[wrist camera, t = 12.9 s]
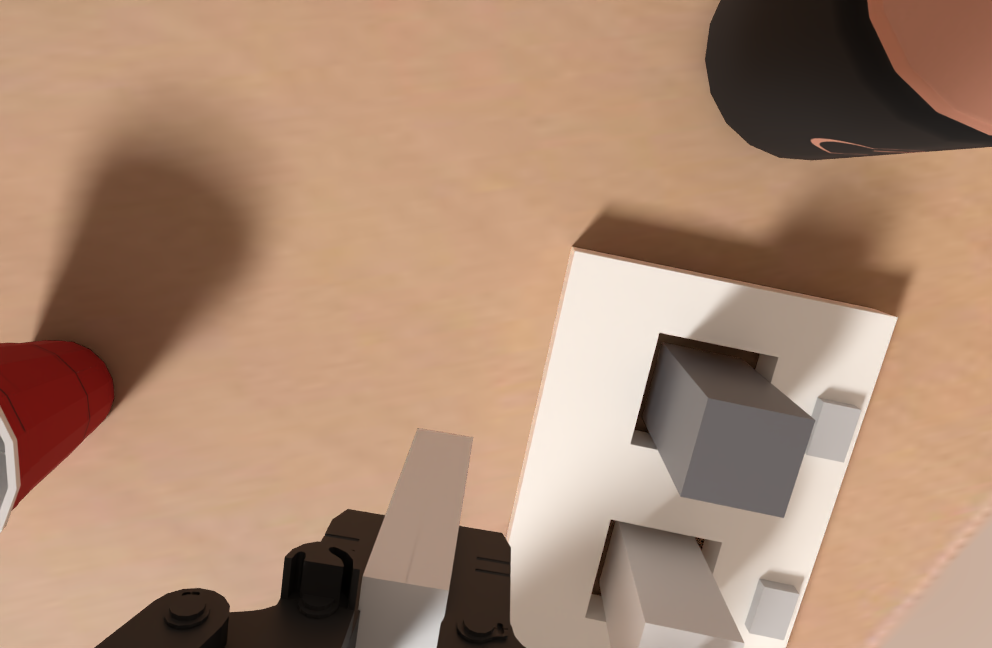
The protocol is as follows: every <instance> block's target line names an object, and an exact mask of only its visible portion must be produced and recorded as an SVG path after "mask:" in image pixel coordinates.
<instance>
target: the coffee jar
mask: <svg viewBox="0 0 992 648" xmlns="http://www.w3.org/2000/svg"><path fill="white" fill-rule="evenodd" d="M705 62H706V68H707V74H708V80H709V86H710V92H711V95H712V97H713V99H714V101H715V102H716V104H717V106H718V108H719V110H720V112H721V114H722V116H723V118H724V120H725V121H726V123H727V124H728V125H729V126H730V127H731V128H732V129H733V130H734V131H736V132H737V133H738V134H739V135H740V136H741V137H742V138H743V139H744V140H745V141H746V142H747V143H748V144H750V145H751V146H754V147H756V148H758V149H761V150H763V151H765V152H768V153H770V154H772V155H775V156H777V157H779V158H790V159H803V160H822V159H836V158H849V157H862V156H875V155H889V154H902V153H915V152H929V151H942V150H955V149H969V148H982V147H992V0H721V1H720V3H719V5H718V7H717V10H716V12H715V14H714V16H713V18H712V21H711V23H710V28H709V35H708V42H707V50H706V57H705Z"/></svg>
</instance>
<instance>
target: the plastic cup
mask: <svg viewBox="0 0 992 648" xmlns="http://www.w3.org/2000/svg"><path fill="white" fill-rule="evenodd" d="M113 400H114V388H113V379H112V377H111V375H110V373H109V371H108V369H107V367H106V365H105V363H104V362H103V361H102V360H101V359H100V358H99V357H98V356H97V355H95V354H94V353H93V352H92V351H91V350H90V349H88V348H86V347H83V346H81V345H79V344H77V343H74V342H67V341H52V340H43V341H34V342H26V343H0V533H1V531H2V530H3V529H4V528H5V527H6V525H7V522H8V519H9V516H10V514H11V511H12V510H13V509H14V508H15V507H16V506H17V505H18V503H19V502H20V501H21V500H22V499H23V498H24V497H25V496H26V495H27V494H28V493H29V491H31V490H32V489H33V488H34V487H35V486H36V485H37V484H38V483H39V482H40V481H41V480H43V479H44V478H45V477H46V476H47V475H48V474H49V473H50V472H51V471H52V470H53V469H55V468H56V467H57V466H58V465H59V464H60V463H61V462H62V461H63V460H64V459H65V458H67V457H68V456H69V455H70V454H71V453H72V452H73V451H74V450H75V449H76V447H77V446H78V445H79V444H80V443H81V442H82V441H83V440H84V439H85V438H86V437H87V436H88V435H89V434H91V433H92V432H93V431H94V430H95V429H96V428H97V427H98V426H99V425H100V424H101V423H102V422H103V421H104V419H105V418H106V416H107V415H108V414H109V412H110V409H111V406H112V403H113Z"/></svg>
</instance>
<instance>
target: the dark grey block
mask: <svg viewBox="0 0 992 648" xmlns="http://www.w3.org/2000/svg"><path fill="white" fill-rule="evenodd" d="M642 418H643V420H644V423H645V425H646V427H647V429H648V431H649V433H650V435H651V437H652V439H653V441H654V443H655V445H656V447H657V449H658V452H659V454H660V456H661V458H662V460H663V462H664V464H665V466H666V468H667V470H668V472H669V474H670V476H671V478H672V481H673V483H674V485H675V487H676V489H677V491H678V493H679V495H680V497H685V498H689V499H694V500H699V501H704V502H709V503H714V504H718V505H723V506H728V507H733V508H738V509H742V510H747V511H752V512H757V513H762V514H767V515H771V516H776V517H781V518H784V516H785V513H786V510H787V507H788V504H789V501H790V498H791V495H792V491H793V488H794V485H795V482H796V479H797V476H798V473H799V470H800V467H801V464H802V460H803V457H804V454H805V451H806V448H807V445H808V442H809V439H810V436H811V433H812V430H813V426H814V423H815V419H813V418H812V417H811V416H810V415H809V414H807V413H806V412H805V411H804V410H803V409H801V408H800V407H799V406H798V405H797V404H795V403H794V402H793V401H792V400H791V399H789V398H788V397H787V396H786V395H785V394H783V393H782V392H781V391H780V390H779V389H777V388H776V387H775V386H774V385H773V384H771V383H770V382H769V381H768V380H767V379H765V378H764V377H763V376H762V375H761V374H759V373H758V372H757V371H756V370H755V369H753V368H752V367H751V366H750V365H749V364H747V363H746V362H745V361H744V360H743V359H741V358H737V357H732V356H727V355H722V354H717V353H712V352H708V351H703V350H698V349H693V348H688V347H683V346H679V345H674V344H669V343H664V342H662V343H661V347H660V350H659V354H658V358H657V362H656V366H655V369H654V373H653V377H652V381H651V385H650V388H649V392H648V396H647V400H646V404H645V407H644V411H643V415H642Z"/></svg>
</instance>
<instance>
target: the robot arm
mask: <svg viewBox="0 0 992 648" xmlns="http://www.w3.org/2000/svg"><path fill="white" fill-rule="evenodd" d="M472 441H473V437H468V436H462V435H456V434H450V433H444V432H438V431H432V430H427V429H421V428H418V429H417V431H416V434H415V437H414V439H413V442H412V445H411V448H410V450H409V453H408V456H407V458H406V461H405V464H404V466H403V469H402V472H401V474H400V477H399V480H398V482H397V485H396V488H395V490H394V493H393V496H392V499H391V501H390V504H389V507H388V509H387V512H386V515H380V514H374V513H368V512H362V511H356V510H350V509H347V510H346V511H344V512H343V513H341V514H340V515H338V516H337V517H335V518H334V519H333V520H332V521H331V523H330V525H329V527H328V529H327V531H326V533H325V536H324V537H323V539H322V541H321V542H313V543H307V544H303V545H301V546H299V547H297V548H294V549H292V550H291V551H290V552H289V553H288V554H287V555H286V556H285V560H284V569H283V579H282V589H281V598H280V600H279V602H278V604H277V605H275V606H272V607H269V608H266V609H262V610H255V611H244V612H229V609H230V605H229V604H228V602H227V601H226V599H225V597H223V596H222V595H220V594H218V593H216V592H215V591H211V590H206V589H201V588H194V589H182V590H178V591H175V592H171V593H168V594H166V595H164V596H162V597H161V598H159V599H157V600H155V601H154V602H152V603H151V604H150V605H148V606H147V607H146V608H145V609H143V610H142V611H141V612H140V613H138V614H137V615H136V616H134V617H133V618H132V619H131V620H129V621H128V622H127V623H125V624H124V625H123V626H122V627H120V628H119V629H118V630H116V631H115V632H114V633H113V634H111V635H110V636H109V637H107V638H106V639H105V640H104V641H102V642H101V643H100V644H99V645H97V646H96V647H95V648H526V647H524V646H523V645H522V644H521V643H520V642H519V641H518V639H517V638H516V637H515V635H514V632H513V629H512V626H511V624H510V585H511V577H510V575H511V565H510V564H511V547H510V545H509V543H508V542H507V540H506V539H505V537H504V535H503V534H502V533H498V532H492V531H486V530H480V529H474V528H468V527H462V526H459V523H460V517H461V511H462V504H463V498H464V492H465V485H466V479H467V473H468V467H469V460H470V454H471V448H472Z"/></svg>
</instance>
